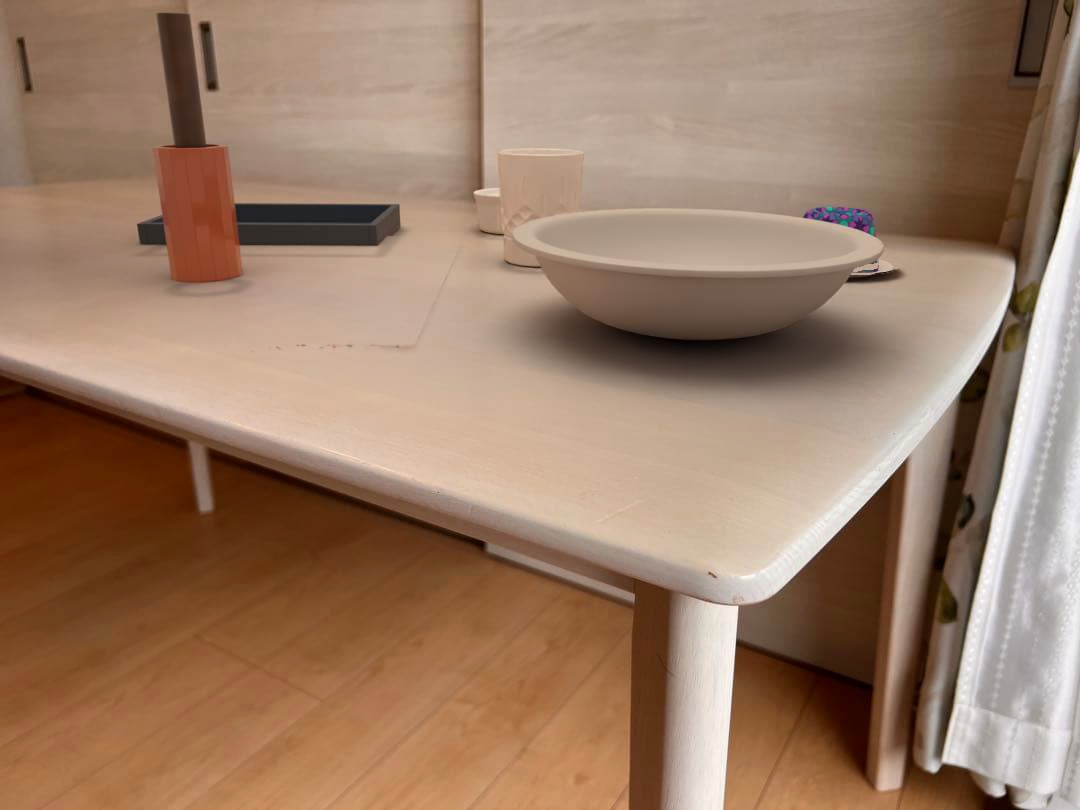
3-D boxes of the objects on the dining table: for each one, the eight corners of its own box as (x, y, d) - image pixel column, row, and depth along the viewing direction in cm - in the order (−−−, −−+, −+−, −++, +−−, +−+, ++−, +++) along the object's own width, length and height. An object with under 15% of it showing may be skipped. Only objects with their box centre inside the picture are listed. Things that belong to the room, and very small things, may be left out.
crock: (161, 289, 70) (140, 148, 66) (187, 274, 75) (169, 143, 71) (230, 289, 70) (213, 148, 66) (251, 274, 75) (237, 143, 71)
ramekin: (458, 228, 99) (457, 190, 97) (516, 221, 104) (516, 185, 103) (509, 239, 93) (509, 198, 91) (567, 230, 98) (568, 191, 97)
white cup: (484, 264, 80) (483, 152, 76) (518, 250, 87) (517, 147, 83) (564, 271, 77) (566, 156, 73) (592, 256, 84) (595, 150, 80)
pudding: (741, 259, 83) (746, 204, 81) (846, 253, 86) (853, 200, 84) (815, 286, 72) (823, 223, 70) (932, 277, 76) (942, 217, 74)
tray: (140, 250, 85) (136, 223, 84) (198, 225, 100) (195, 202, 99) (377, 251, 86) (376, 225, 85) (400, 226, 100) (399, 204, 99)
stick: (187, 277, 71) (150, 12, 64) (198, 271, 73) (163, 14, 66) (216, 277, 71) (182, 12, 64) (226, 271, 73) (194, 15, 66)
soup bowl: (663, 415, 44) (670, 288, 42) (452, 313, 63) (449, 222, 61) (948, 345, 56) (967, 244, 53) (699, 277, 75) (704, 200, 72)
